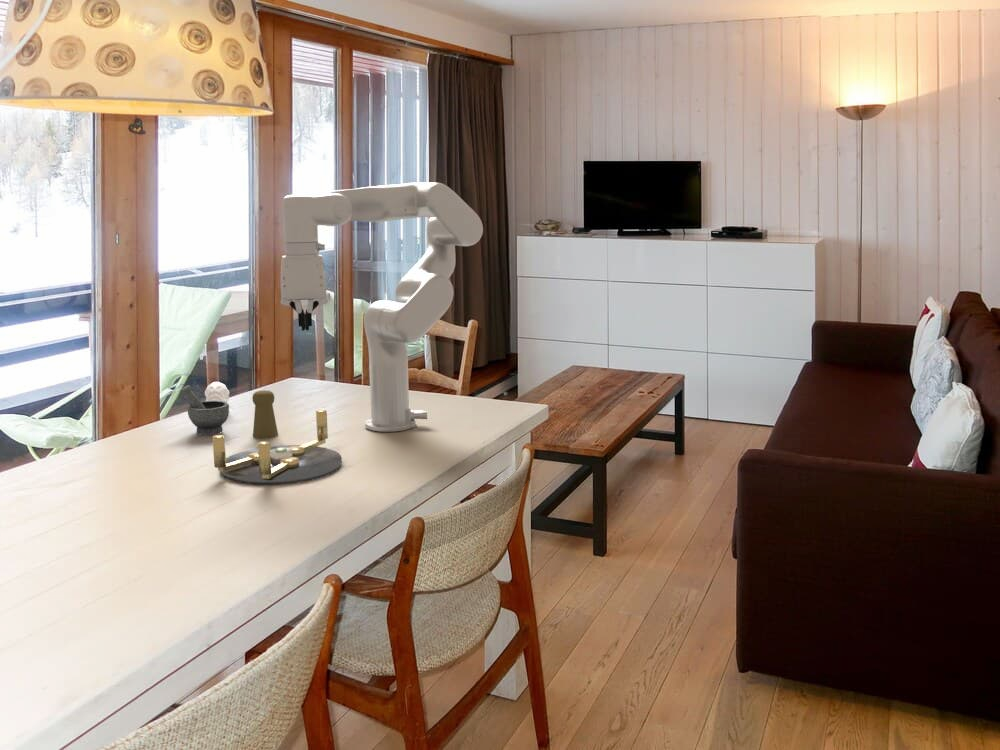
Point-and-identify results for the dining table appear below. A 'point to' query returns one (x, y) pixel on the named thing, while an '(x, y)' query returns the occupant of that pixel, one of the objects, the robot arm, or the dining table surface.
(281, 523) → the dining table surface
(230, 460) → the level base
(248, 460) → the gold l-shaped piece
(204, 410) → the mortar and pestle
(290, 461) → the brass crank handle
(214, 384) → the white carved sculpture
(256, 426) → the olive tapered upright piece
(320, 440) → the brass bent bar
